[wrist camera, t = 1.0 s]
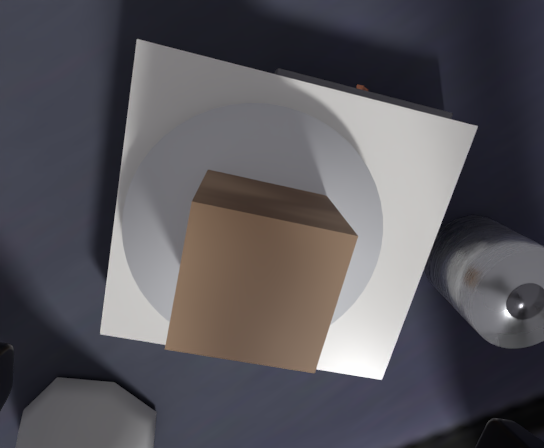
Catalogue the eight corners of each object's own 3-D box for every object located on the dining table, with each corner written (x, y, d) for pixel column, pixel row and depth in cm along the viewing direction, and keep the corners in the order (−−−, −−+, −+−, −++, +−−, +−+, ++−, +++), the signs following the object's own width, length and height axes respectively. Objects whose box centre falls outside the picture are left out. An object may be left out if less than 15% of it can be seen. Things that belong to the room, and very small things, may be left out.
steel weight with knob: (523, 225, 20) (601, 262, 16) (489, 302, 21) (552, 357, 17) (442, 207, 19) (499, 240, 15) (412, 287, 21) (456, 339, 16)
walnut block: (326, 195, 15) (358, 236, 11) (296, 300, 16) (314, 373, 12) (207, 169, 14) (192, 201, 10) (187, 279, 16) (164, 349, 12)
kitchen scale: (449, 112, 18) (496, 116, 15) (366, 346, 21) (388, 393, 18) (154, 35, 16) (131, 21, 13) (118, 304, 20) (92, 346, 16)
